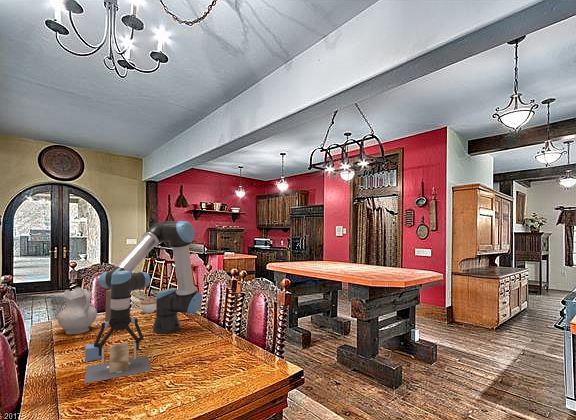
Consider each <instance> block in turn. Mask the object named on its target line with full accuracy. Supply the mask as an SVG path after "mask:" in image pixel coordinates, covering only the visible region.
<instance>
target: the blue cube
mask: <svg viewBox="0 0 576 420" xmlns="http://www.w3.org/2000/svg"><path fill="white" fill-rule="evenodd" d="M97 360H102V356H99V348H98V347H94V343H91V344H90V343H89V344H86V345H85V349H84V362H91V361H97Z"/></svg>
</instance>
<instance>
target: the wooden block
mask: <svg viewBox="0 0 576 420" xmlns="http://www.w3.org/2000/svg"><path fill="white" fill-rule="evenodd" d="M110 306H111V289H106V291H105V314H104V315H105V317H104V322H109V321H110V310H111V309H112V308H110Z"/></svg>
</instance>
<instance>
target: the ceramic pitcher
mask: <svg viewBox="0 0 576 420" xmlns="http://www.w3.org/2000/svg"><path fill="white" fill-rule="evenodd" d="M91 297H92V292H91V291H90V290H89V289H85V288H82V287H79V286H77V287H75V288H74V289H73V290H72V291H70V290H69V289H68V290H67V289H65V291H64V292H63V298H64V300H65V302H66V303H65V307H64V308H63V309H62V310H60V312H59V313H58V314H57V317H56V318H57V323H58V325H59V327H60V328H61V329H63V330H65V335H79V334H83V333H88V331H90V330H91V329H90V328H89V327H90V326H92V325H93V324H94V322H95V321H96V319H97V315H98V311H97V310H98V309H96V308H95V307H94V306H92V305H91V299H92V298H91Z"/></svg>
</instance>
